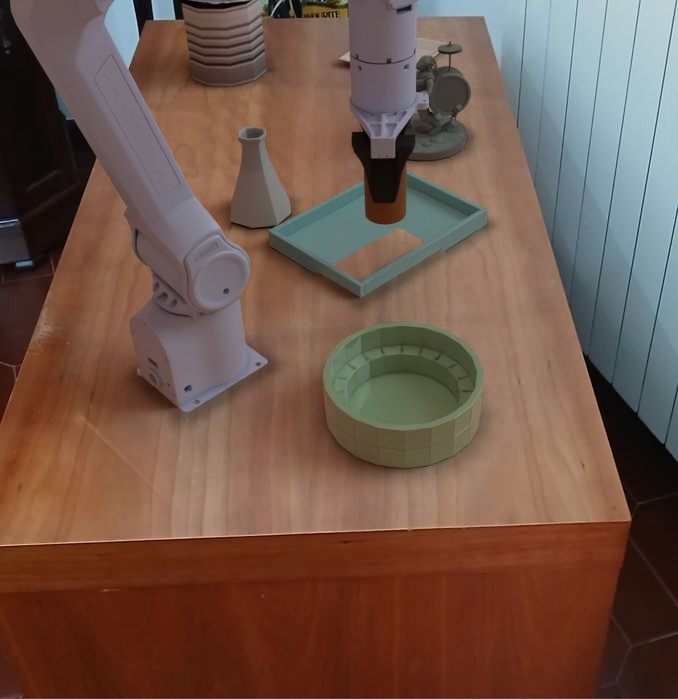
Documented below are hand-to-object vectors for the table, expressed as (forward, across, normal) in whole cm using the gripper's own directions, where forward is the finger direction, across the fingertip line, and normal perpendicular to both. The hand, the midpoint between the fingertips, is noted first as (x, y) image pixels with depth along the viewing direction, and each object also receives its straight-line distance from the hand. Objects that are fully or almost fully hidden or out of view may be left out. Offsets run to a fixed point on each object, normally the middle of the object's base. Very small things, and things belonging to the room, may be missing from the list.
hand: (384, 188), depth 88 cm
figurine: (+11, +29, -5) cm, 31 cm away
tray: (+10, +8, +1) cm, 13 cm away
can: (+11, +51, +23) cm, 57 cm away
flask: (+11, +12, +14) cm, 22 cm away
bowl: (+10, -20, -2) cm, 23 cm away
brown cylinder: (+3, 0, 0) cm, 3 cm away
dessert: (+11, +54, -1) cm, 55 cm away
